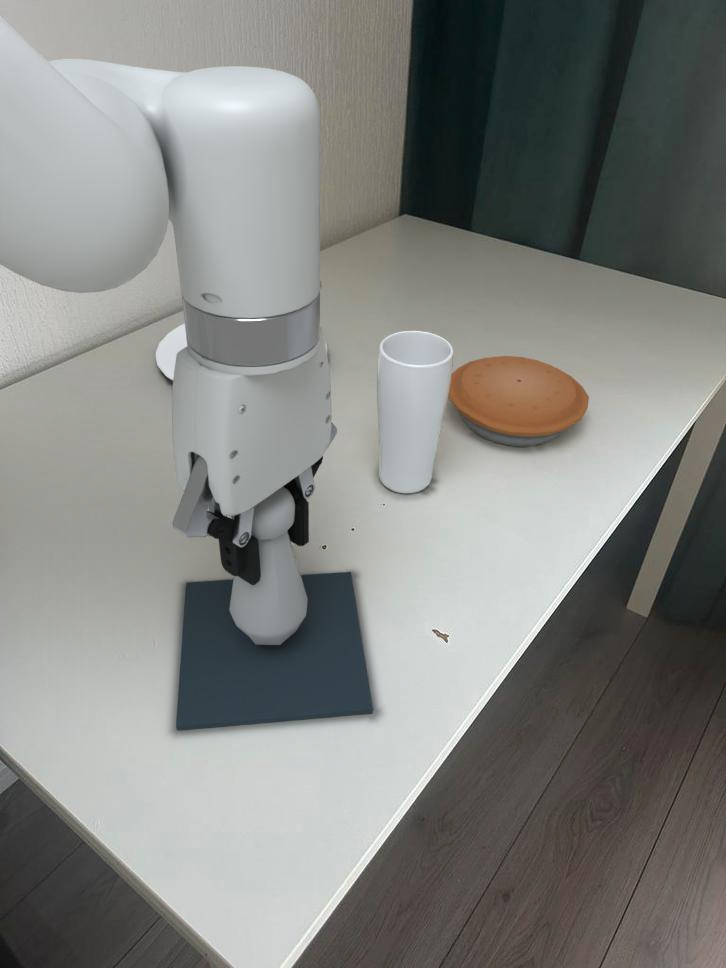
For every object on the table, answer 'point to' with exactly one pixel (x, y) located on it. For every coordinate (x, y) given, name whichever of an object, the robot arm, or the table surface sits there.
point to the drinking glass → (411, 406)
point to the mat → (271, 660)
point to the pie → (516, 399)
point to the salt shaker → (271, 577)
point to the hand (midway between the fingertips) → (266, 552)
